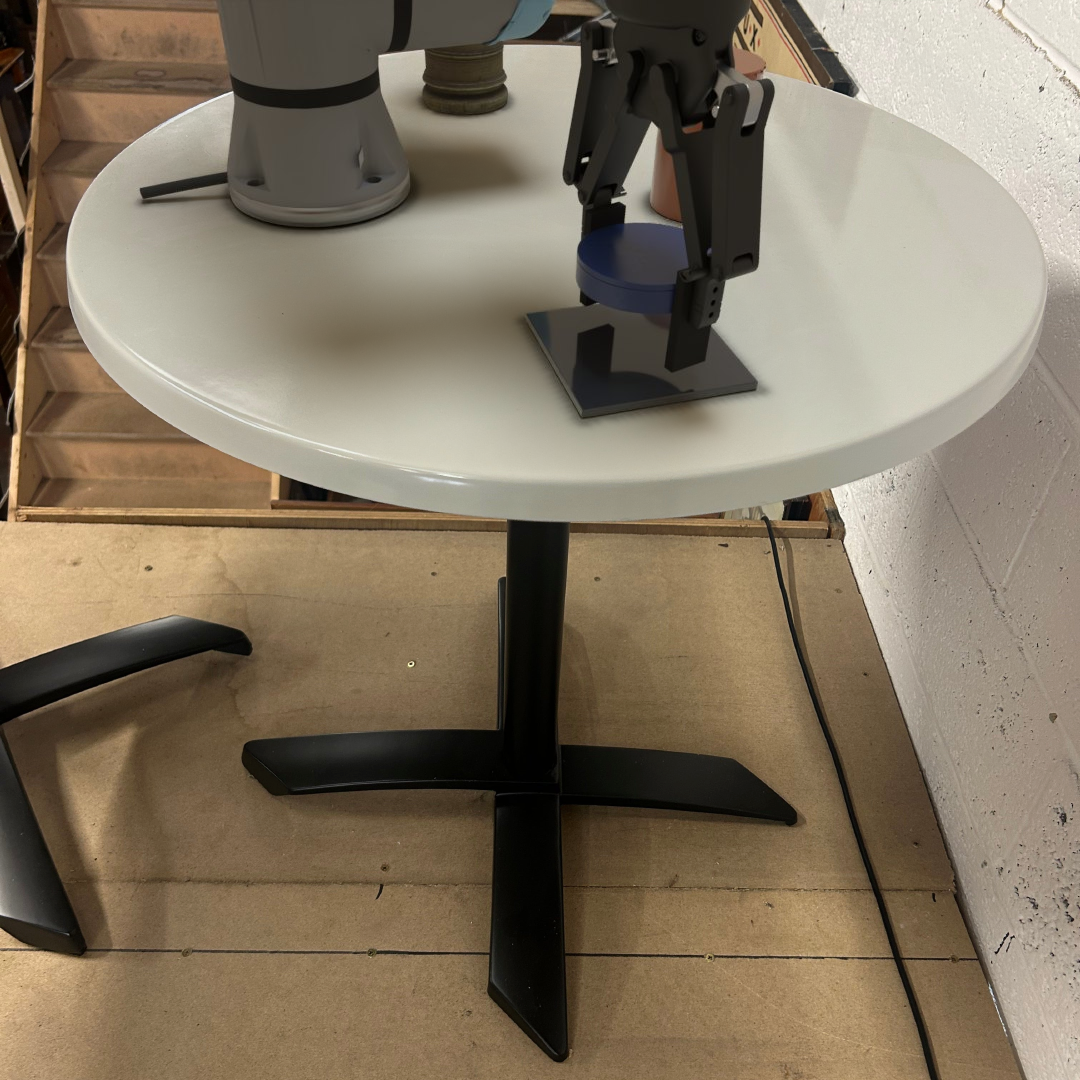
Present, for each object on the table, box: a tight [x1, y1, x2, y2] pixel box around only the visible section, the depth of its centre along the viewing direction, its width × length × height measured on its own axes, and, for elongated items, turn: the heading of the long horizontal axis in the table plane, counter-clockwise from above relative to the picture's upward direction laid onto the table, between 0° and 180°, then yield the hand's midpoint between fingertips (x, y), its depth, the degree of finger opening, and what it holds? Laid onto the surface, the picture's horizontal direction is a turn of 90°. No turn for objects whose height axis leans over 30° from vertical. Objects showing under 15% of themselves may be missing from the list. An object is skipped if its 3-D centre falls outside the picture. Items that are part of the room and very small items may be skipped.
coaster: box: [525, 303, 759, 419], centre depth 62 cm, size 12×12×1 cm
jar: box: [649, 47, 767, 223], centre depth 75 cm, size 8×8×12 cm
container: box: [421, 41, 509, 115], centre depth 90 cm, size 9×9×18 cm
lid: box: [575, 222, 711, 314], centre depth 57 cm, size 9×9×2 cm
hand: (639, 330), depth 60 cm, fingers closed on lid, 9 cm apart
